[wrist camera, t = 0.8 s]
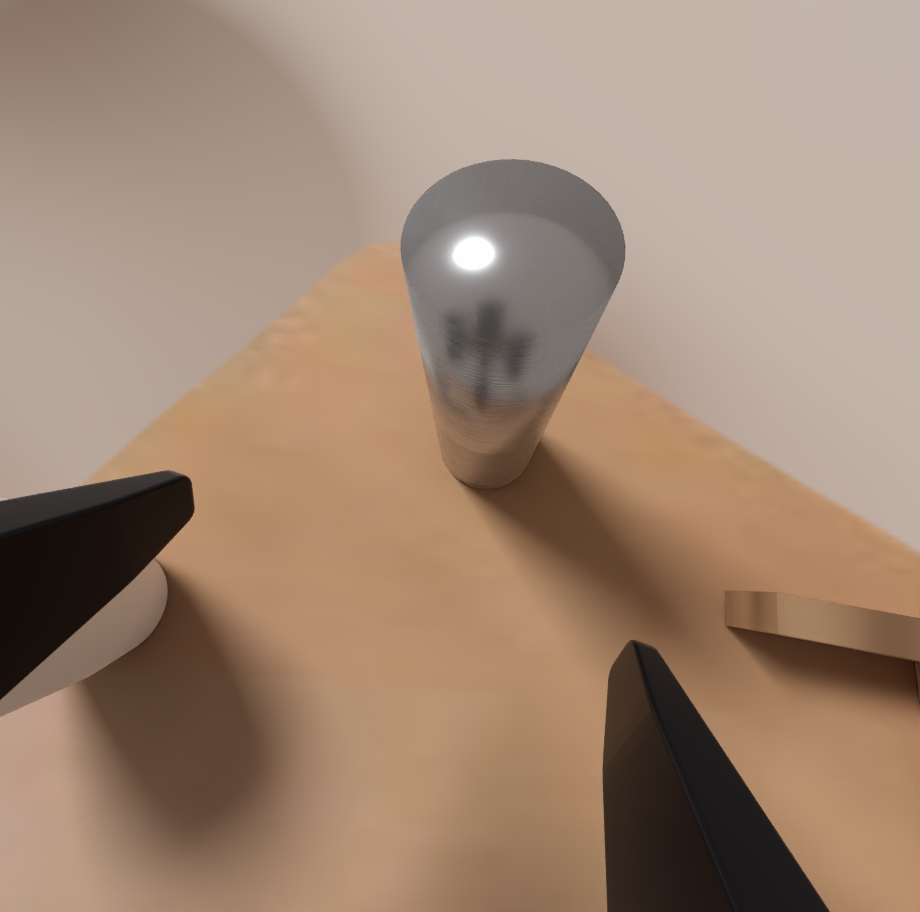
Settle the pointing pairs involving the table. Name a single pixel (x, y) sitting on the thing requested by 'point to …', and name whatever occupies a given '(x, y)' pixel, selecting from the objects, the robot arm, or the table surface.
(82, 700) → the table surface
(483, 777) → the table surface
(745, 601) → the v cradle
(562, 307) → the grey metallic tall cylinder
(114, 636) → the cup
